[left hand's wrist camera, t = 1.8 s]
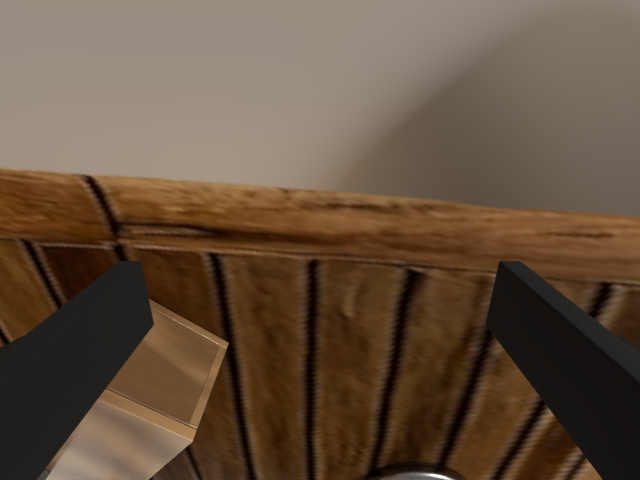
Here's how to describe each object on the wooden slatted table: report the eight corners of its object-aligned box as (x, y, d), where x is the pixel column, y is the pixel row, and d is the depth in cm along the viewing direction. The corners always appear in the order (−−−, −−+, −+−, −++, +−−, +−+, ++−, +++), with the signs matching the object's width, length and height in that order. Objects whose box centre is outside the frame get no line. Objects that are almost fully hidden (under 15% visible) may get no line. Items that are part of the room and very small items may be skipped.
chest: (163, 409, 42) (123, 494, 35) (91, 376, 40) (29, 459, 32) (229, 342, 36) (197, 429, 28) (147, 297, 33) (86, 378, 25)
